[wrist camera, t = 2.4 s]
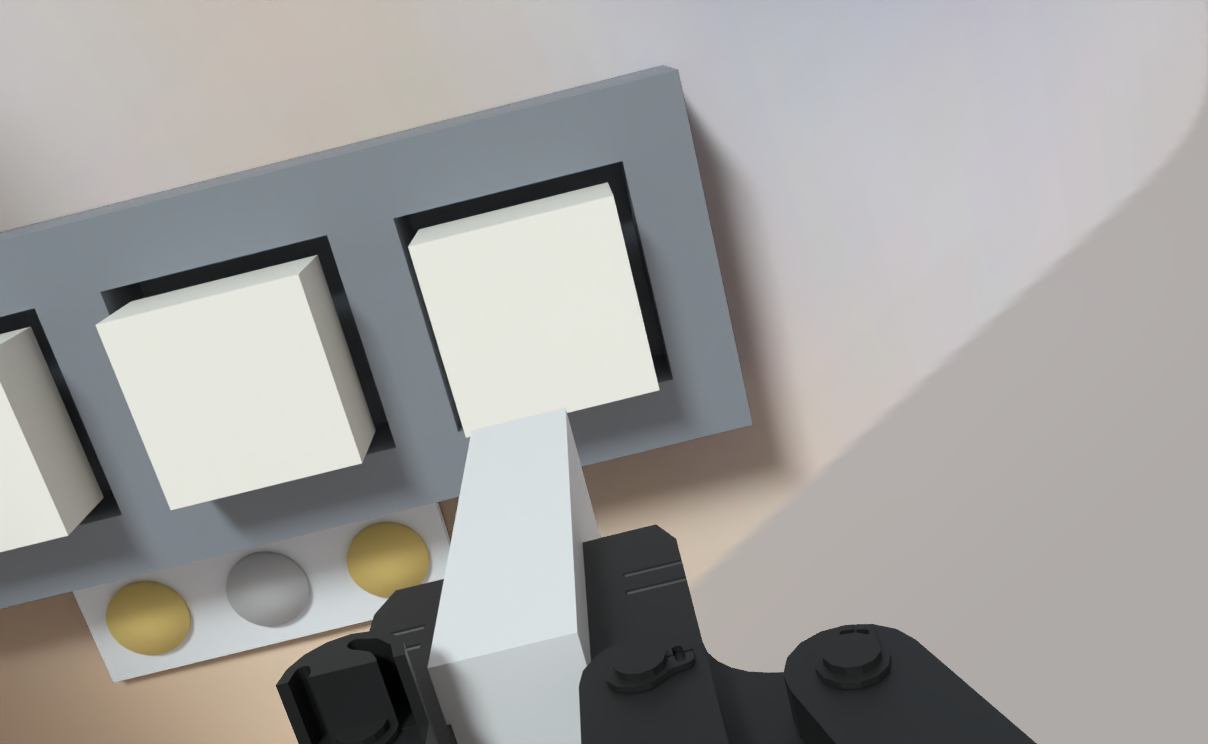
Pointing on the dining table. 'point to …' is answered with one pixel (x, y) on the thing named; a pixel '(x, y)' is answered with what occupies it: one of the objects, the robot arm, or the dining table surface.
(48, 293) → the board
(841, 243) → the dining table surface
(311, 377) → the button
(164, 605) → the card
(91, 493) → the button
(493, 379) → the button
